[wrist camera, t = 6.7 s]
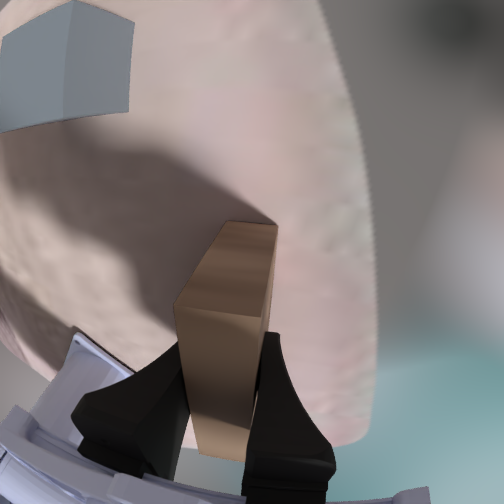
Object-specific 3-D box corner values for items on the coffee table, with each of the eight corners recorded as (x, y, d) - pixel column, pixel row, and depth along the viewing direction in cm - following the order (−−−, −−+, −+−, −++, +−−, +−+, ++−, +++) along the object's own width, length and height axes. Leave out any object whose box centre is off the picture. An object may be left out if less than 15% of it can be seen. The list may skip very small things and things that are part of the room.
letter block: (135, 23, 11) (74, -1, 6) (129, 112, 13) (62, 118, 8) (63, 43, 11) (1, 38, 7) (59, 121, 13) (-5, 134, 9)
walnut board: (263, 369, 19) (246, 462, 12) (226, 364, 19) (199, 453, 13) (278, 225, 14) (260, 317, 8) (226, 220, 14) (173, 304, 8)
